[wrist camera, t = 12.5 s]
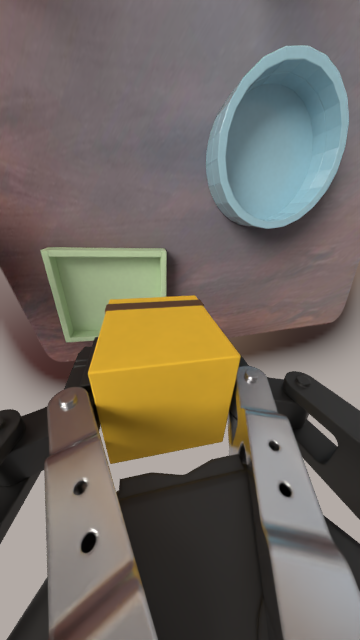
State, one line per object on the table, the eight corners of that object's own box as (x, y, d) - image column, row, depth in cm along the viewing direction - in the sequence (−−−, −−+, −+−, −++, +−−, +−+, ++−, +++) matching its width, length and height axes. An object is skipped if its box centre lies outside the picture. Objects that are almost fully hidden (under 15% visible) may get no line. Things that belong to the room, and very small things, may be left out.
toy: (118, 368, 13) (108, 466, 8) (108, 298, 11) (84, 372, 6) (191, 360, 14) (223, 442, 9) (195, 294, 12) (243, 354, 7)
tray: (70, 334, 33) (65, 342, 30) (47, 247, 26) (39, 250, 24) (164, 328, 35) (166, 335, 33) (164, 248, 29) (166, 251, 27)
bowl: (200, 225, 29) (210, 227, 25) (213, 61, 21) (230, 26, 17) (295, 228, 32) (317, 230, 28) (335, 85, 24) (374, 60, 20)
